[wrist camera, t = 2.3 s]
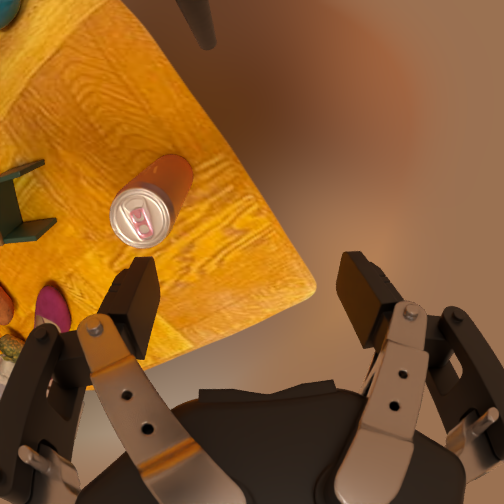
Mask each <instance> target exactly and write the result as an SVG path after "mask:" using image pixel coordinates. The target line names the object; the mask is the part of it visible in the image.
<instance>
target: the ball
mask: <svg viewBox="0 0 504 504" xmlns="http://www.w3.org/2000/svg"><path fill="white" fill-rule="evenodd" d="M20 5H21V0H0V30H1V29H3V28H4V27H6V26H7V25H8V24H10V23H11V21H12V20H13V19H14V18H15V16H16V15H17V13H18V11H19V9H20Z"/></svg>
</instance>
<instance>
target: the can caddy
mask: <svg viewBox="0 0 504 504" xmlns="http://www.w3.org/2000/svg"><path fill="white" fill-rule="evenodd" d="M44 164H45V163H44V160H40V161H37V162H33V163H30V164H27V165H23V166H20V167H17V168H14V169H11V170H8V171H6V172H4V173H2V174H0V246H3V245H4V244H7V243H18V242H28V241H37V240H38V239H39V238H40V237H41V236H42V235H43V234H44V233H45V232H46V231H48V230H49V229H50V228H51V227H52V226H53V225H54V224H55V223H56V222H57V220H56V218H51V219H43V220H36V221H29V222H23V221H22V217H21V214H20V210H19V206H18V202H17V198H16V193H15V189H14V184H13V179H14V178H17V177H20V176H22V175H24V174H26V173H28V172H30V171H32V170H34V169H36V168H38V167H40V166H42V165H44Z"/></svg>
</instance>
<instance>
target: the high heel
mask: <svg viewBox="0 0 504 504" xmlns="http://www.w3.org/2000/svg"><path fill="white" fill-rule="evenodd" d="M44 323H51V324H54V325H55V326H56V327H57V329H58V331H59V333H64V332H68V331H69V329H70V325H71V317H70V313H69V309H68V306H67V304H66V301H65V300H64V298H63V296H62V295H61V293H60V292H59V291H58V290H57V289H56V288H54V287H53V286H50V285H47V286H45V287H44V288H42V289H41V291H40V293H39V295H38V298H37V302H36V310H35V325H34V328H36V327H37V326H39V325H41V324H44ZM51 380H52V377H51Z"/></svg>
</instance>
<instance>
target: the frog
mask: <svg viewBox="0 0 504 504" xmlns="http://www.w3.org/2000/svg"><path fill="white" fill-rule="evenodd" d="M24 344H25V341H23V340H21V339H19V338H16V337H14V336H13V335H9V334H7V335H4V336H3V337H1V338H0V350H1V351H2V353H3V354H1V355H0V384H3V385H4V386H6V384H7V381H8V379H9V376H10V374H11V372H12V369H13V367H14V365H15V363H16V361H17V358H18V356H19V354H20V352H21V350H22V348H23V346H24Z"/></svg>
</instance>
